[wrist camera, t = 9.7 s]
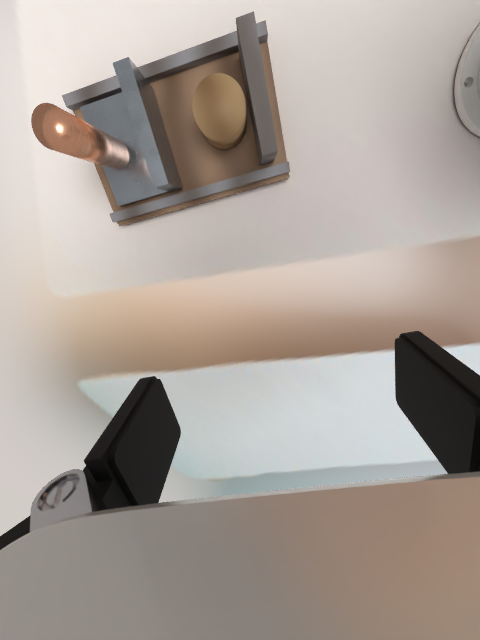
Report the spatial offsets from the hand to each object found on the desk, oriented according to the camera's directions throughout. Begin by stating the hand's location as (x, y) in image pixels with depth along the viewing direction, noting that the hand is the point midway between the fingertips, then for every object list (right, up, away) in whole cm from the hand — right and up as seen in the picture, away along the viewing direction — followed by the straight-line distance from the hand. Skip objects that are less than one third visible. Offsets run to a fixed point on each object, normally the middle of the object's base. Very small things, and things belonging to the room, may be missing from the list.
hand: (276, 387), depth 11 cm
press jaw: (-13, +22, +20) cm, 33 cm away
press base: (-7, +24, +21) cm, 33 cm away
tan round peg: (-3, +24, +19) cm, 31 cm away
